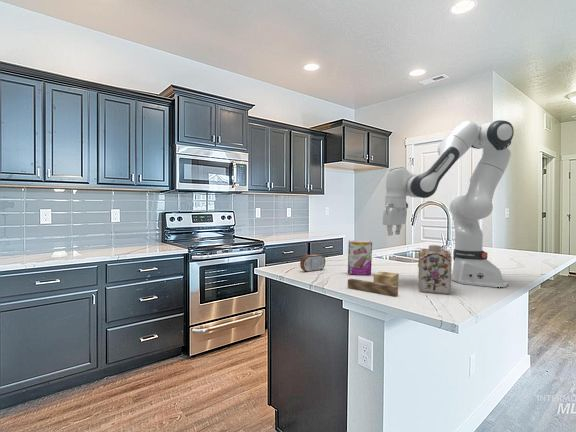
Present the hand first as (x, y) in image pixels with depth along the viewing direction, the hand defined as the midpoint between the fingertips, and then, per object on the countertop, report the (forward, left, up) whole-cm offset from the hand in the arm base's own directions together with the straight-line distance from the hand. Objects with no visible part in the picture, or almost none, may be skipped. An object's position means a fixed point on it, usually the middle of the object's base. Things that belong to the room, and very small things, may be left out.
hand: (394, 235), depth 151 cm
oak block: (-1, +9, -21) cm, 23 cm away
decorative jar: (-19, +4, -21) cm, 28 cm away
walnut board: (-1, +23, -21) cm, 31 cm away
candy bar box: (+18, -4, -21) cm, 28 cm away
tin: (+40, +4, -21) cm, 46 cm away
